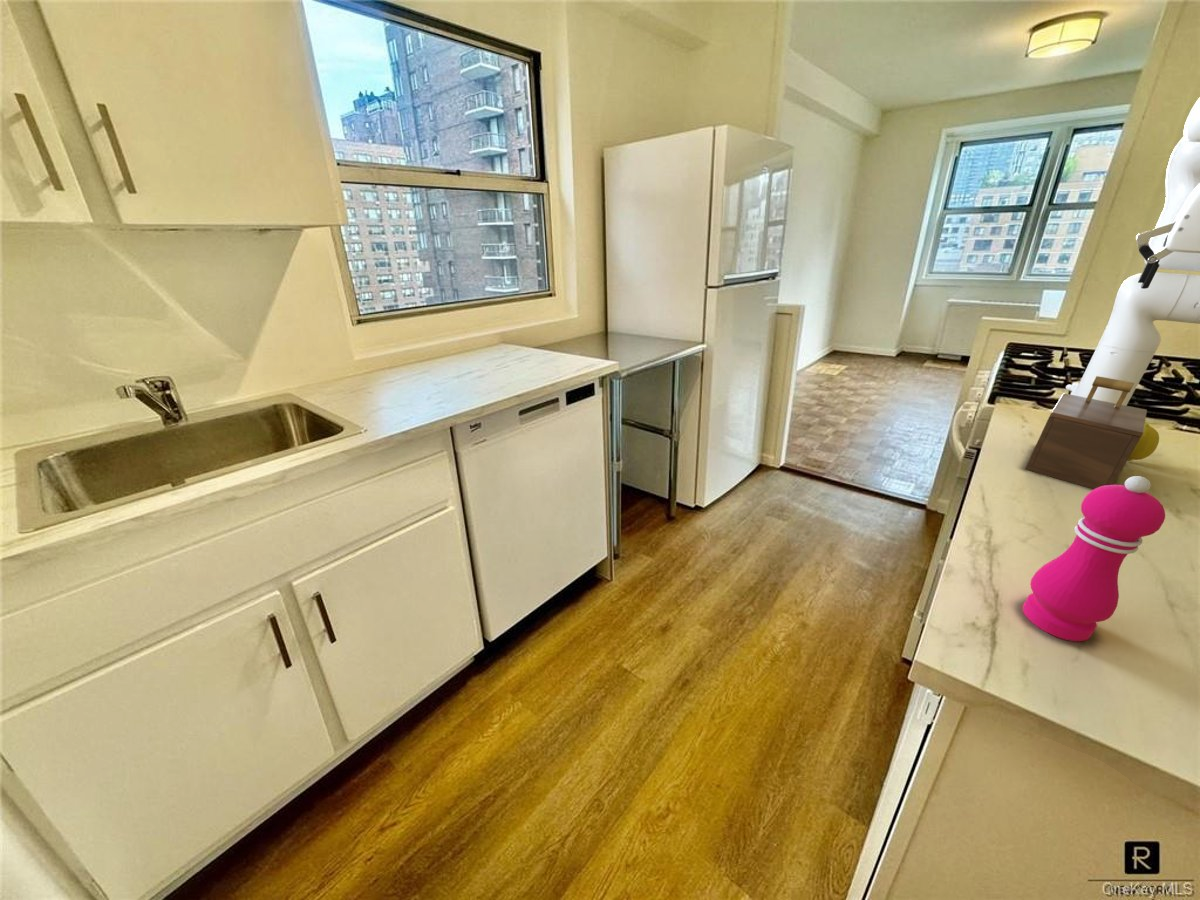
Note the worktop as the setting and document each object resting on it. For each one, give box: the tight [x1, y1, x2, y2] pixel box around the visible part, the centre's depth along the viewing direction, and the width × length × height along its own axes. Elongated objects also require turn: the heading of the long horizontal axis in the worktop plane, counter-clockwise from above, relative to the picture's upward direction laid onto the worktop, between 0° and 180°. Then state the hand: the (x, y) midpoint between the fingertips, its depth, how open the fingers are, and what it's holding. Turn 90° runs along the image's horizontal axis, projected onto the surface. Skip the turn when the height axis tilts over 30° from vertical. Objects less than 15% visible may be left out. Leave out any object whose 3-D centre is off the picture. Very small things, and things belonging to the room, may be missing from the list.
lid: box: [1049, 376, 1148, 437], centre depth 85 cm, size 14×12×6 cm
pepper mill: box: [1022, 475, 1166, 642], centre depth 53 cm, size 7×7×20 cm
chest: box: [1024, 415, 1141, 490], centre depth 89 cm, size 14×12×11 cm
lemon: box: [1127, 422, 1160, 462], centre depth 92 cm, size 6×6×8 cm
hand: (1184, 291), depth 80 cm, fingers open, 9 cm apart
